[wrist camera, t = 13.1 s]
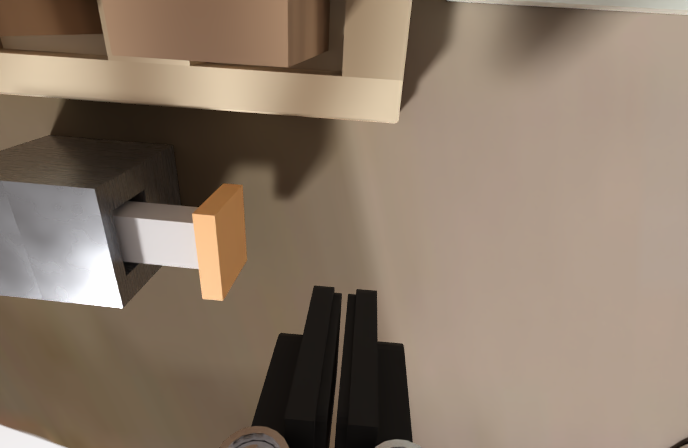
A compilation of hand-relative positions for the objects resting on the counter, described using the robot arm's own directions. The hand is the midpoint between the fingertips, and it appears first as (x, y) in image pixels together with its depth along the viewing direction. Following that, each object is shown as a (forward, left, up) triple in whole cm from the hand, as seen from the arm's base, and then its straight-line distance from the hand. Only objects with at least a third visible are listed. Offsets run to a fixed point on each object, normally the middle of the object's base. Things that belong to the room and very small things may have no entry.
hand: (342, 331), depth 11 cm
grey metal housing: (+12, 0, -9) cm, 15 cm away
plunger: (+7, 0, -7) cm, 10 cm away
